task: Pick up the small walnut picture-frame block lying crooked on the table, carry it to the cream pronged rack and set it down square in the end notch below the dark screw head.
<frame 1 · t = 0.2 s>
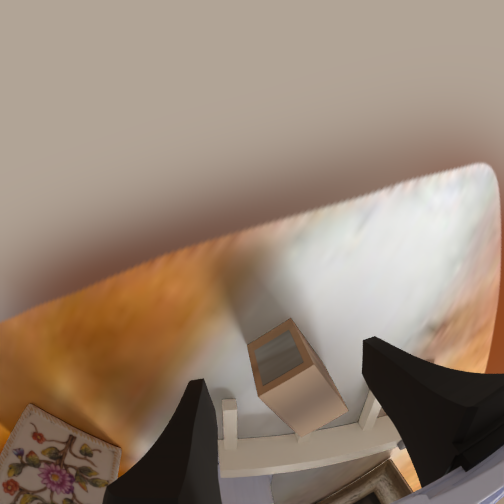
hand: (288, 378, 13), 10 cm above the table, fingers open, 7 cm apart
decorative jar: (68, 447, 25), on the table
cream pronged rack: (331, 431, 28), on the table
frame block: (287, 355, 24), on the table
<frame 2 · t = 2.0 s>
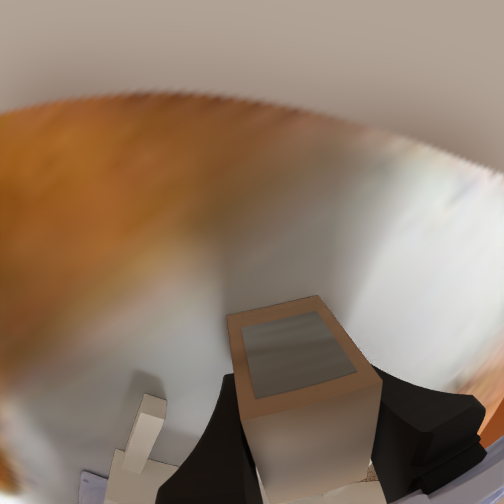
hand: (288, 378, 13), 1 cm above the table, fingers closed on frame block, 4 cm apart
cream pronged rack: (279, 487, 18), on the table
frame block: (281, 360, 14), on the table, touching gripper
when the fingers open (3 cm above the table, at t = 5.4 s): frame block stays where it is, on the table.
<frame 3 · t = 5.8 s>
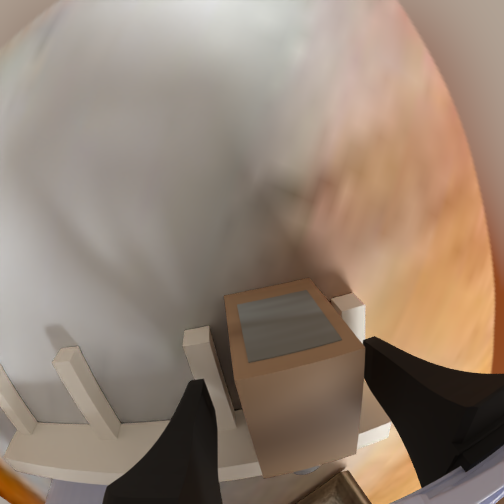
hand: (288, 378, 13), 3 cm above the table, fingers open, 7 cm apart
cream pronged rack: (169, 428, 16), on the table
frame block: (275, 339, 15), on the table
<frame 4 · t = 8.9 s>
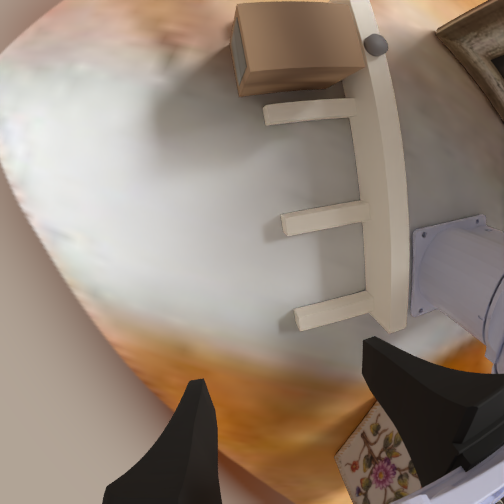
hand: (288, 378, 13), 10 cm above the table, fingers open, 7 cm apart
decorative jar: (391, 424, 30), on the table
cream pronged rack: (364, 157, 20), on the table
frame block: (278, 65, 18), on the table
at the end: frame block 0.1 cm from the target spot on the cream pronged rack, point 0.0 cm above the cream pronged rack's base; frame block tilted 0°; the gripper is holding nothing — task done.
